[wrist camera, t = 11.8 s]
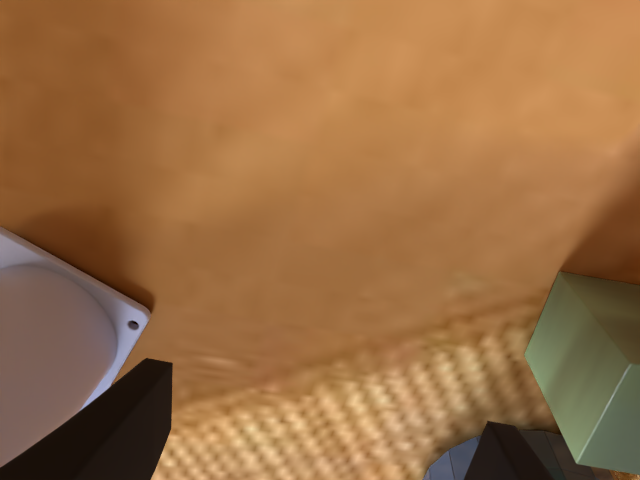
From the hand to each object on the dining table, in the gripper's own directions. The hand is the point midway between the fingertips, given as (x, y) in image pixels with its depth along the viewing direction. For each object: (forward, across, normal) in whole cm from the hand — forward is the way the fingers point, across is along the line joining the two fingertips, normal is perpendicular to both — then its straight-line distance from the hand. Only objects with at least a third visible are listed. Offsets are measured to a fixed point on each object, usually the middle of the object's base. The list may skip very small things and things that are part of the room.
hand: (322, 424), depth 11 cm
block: (+10, -11, +2) cm, 16 cm away
